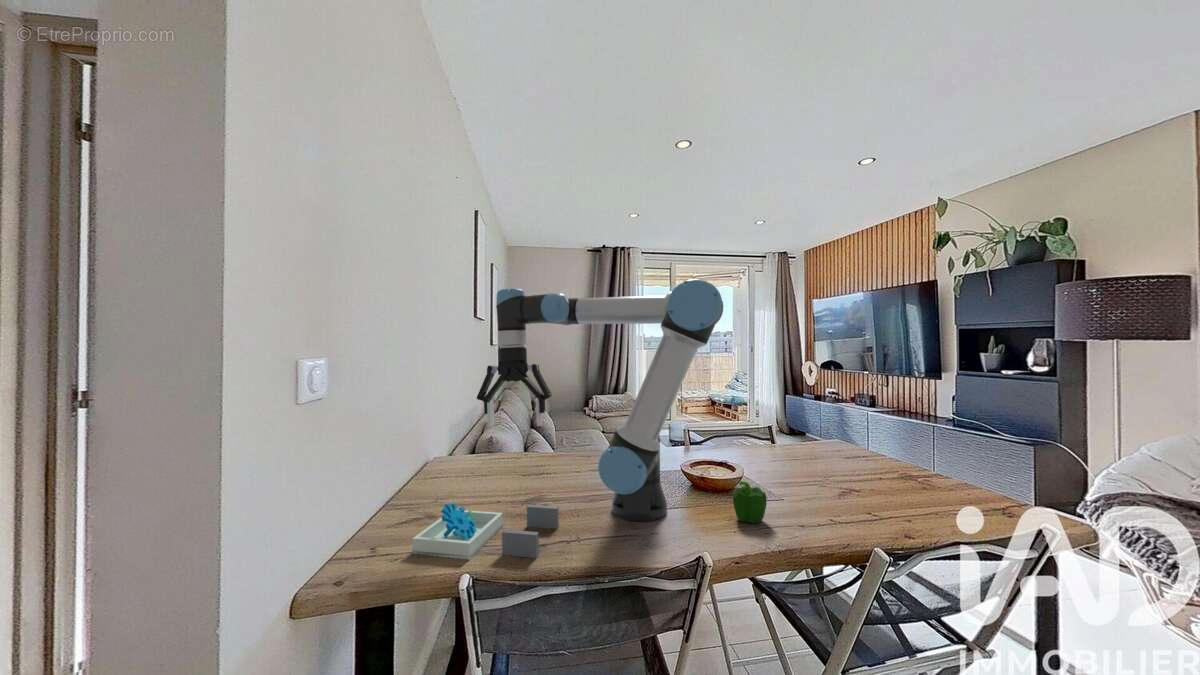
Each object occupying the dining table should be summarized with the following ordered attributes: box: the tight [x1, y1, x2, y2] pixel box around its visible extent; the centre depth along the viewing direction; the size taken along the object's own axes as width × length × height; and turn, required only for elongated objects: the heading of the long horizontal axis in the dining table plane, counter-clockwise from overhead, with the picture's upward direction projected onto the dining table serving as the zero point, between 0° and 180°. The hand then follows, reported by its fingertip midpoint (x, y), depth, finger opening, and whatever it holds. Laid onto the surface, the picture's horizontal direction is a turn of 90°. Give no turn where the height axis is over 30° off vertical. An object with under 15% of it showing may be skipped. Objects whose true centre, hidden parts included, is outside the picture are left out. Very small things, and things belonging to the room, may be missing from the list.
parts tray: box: [411, 509, 504, 561], centre depth 105 cm, size 14×17×4 cm
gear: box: [440, 502, 477, 540], centre depth 105 cm, size 11×6×10 cm
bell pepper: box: [732, 480, 767, 524], centre depth 114 cm, size 8×8×10 cm
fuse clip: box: [501, 504, 560, 559], centre depth 104 cm, size 8×16×5 cm, turn 168°
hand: (515, 425), depth 118 cm, fingers open, 13 cm apart
